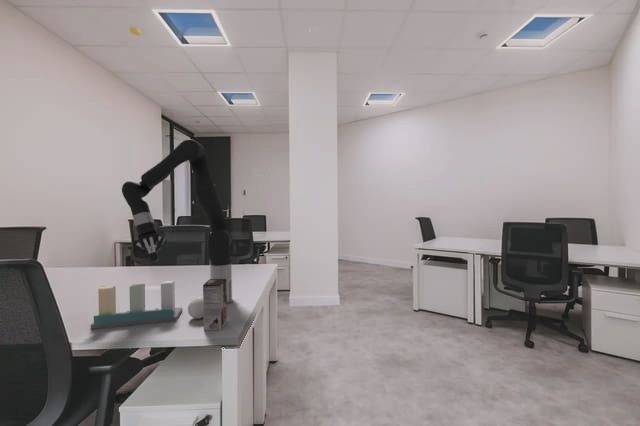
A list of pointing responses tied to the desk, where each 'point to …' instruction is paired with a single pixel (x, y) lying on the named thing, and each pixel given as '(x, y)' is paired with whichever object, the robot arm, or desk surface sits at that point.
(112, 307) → the block
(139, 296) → the key sage
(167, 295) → the light grey tall block
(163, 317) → the keypad base
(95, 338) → the desk surface
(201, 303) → the ball
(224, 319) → the coffee box
